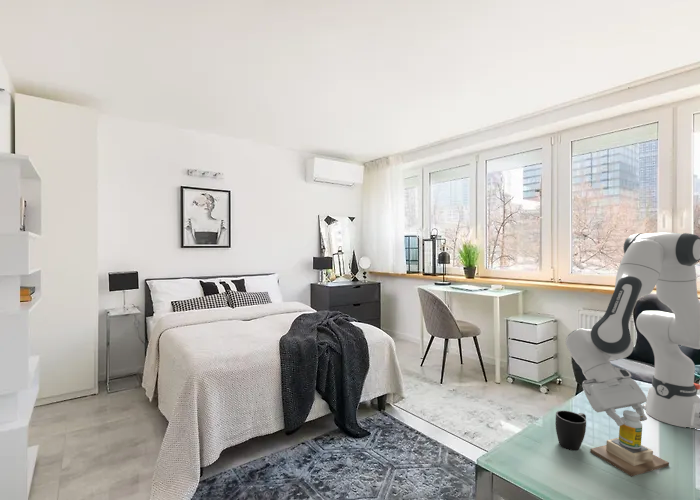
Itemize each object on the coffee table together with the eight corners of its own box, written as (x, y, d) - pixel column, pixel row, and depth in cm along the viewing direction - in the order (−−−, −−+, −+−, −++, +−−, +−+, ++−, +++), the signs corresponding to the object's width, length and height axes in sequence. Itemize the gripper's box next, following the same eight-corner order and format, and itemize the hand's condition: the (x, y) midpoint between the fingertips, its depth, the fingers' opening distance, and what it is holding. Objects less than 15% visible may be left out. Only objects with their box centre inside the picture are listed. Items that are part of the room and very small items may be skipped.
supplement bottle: (622, 437, 114) (625, 407, 114) (643, 446, 110) (646, 414, 109) (615, 442, 111) (617, 411, 111) (636, 451, 107) (638, 419, 106)
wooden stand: (625, 443, 119) (626, 430, 119) (668, 465, 108) (669, 451, 107) (590, 451, 113) (591, 438, 113) (631, 476, 102) (632, 461, 102)
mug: (596, 446, 116) (598, 417, 116) (574, 456, 111) (576, 425, 110) (570, 433, 124) (572, 406, 123) (548, 442, 118) (550, 413, 117)
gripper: (586, 376, 112) (617, 424, 104) (632, 370, 119) (664, 414, 111) (572, 385, 117) (600, 431, 108) (617, 378, 124) (647, 421, 115)
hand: (633, 422), depth 109 cm, fingers open, 8 cm apart
